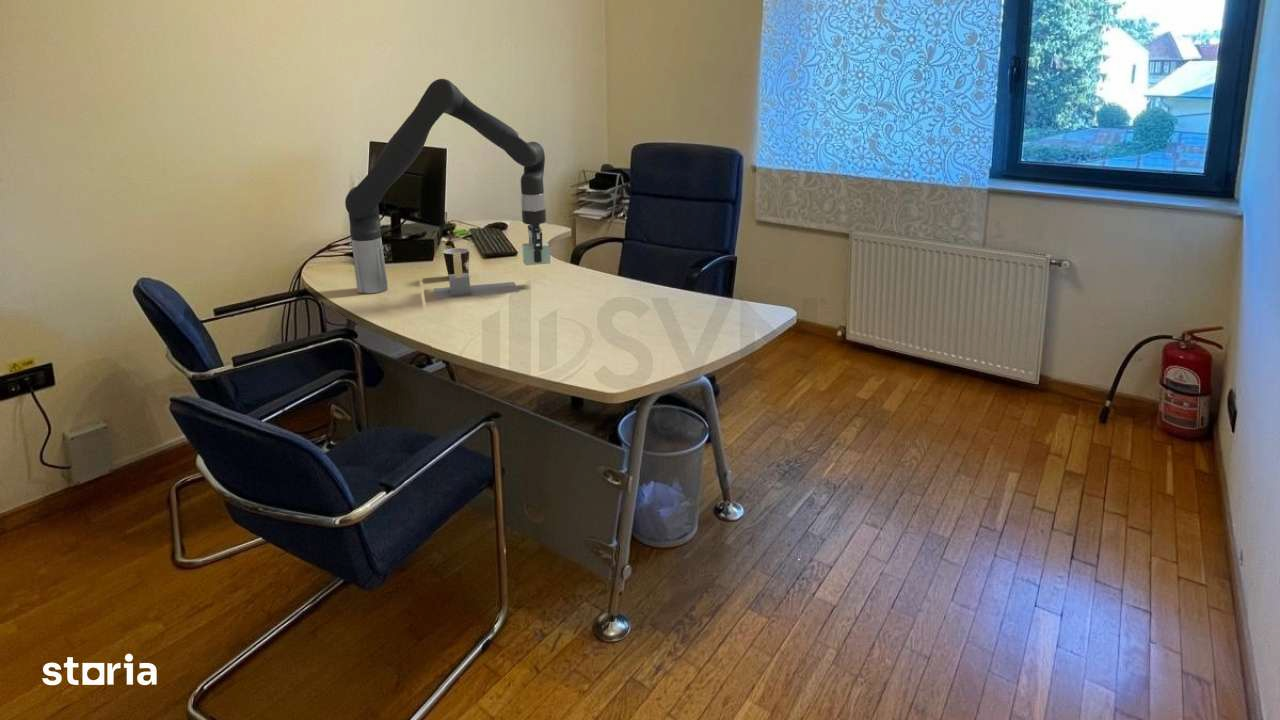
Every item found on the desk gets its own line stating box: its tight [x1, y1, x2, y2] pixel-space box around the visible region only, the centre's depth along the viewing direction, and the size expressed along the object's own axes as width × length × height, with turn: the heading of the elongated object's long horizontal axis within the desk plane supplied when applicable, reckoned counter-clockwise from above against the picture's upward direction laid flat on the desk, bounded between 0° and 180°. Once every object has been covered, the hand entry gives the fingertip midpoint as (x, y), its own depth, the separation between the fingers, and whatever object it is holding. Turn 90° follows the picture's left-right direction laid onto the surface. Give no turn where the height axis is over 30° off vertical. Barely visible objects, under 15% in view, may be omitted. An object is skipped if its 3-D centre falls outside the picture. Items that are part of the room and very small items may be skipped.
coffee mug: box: [443, 247, 470, 277], centre depth 272 cm, size 12×9×10 cm
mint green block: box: [521, 241, 551, 266], centre depth 259 cm, size 8×5×6 cm, turn 106°
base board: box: [433, 273, 520, 300], centre depth 256 cm, size 26×12×6 cm, turn 106°
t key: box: [453, 252, 463, 278], centre depth 253 cm, size 14×2×6 cm, turn 13°
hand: (536, 260), depth 259 cm, fingers closed on mint green block, 5 cm apart
